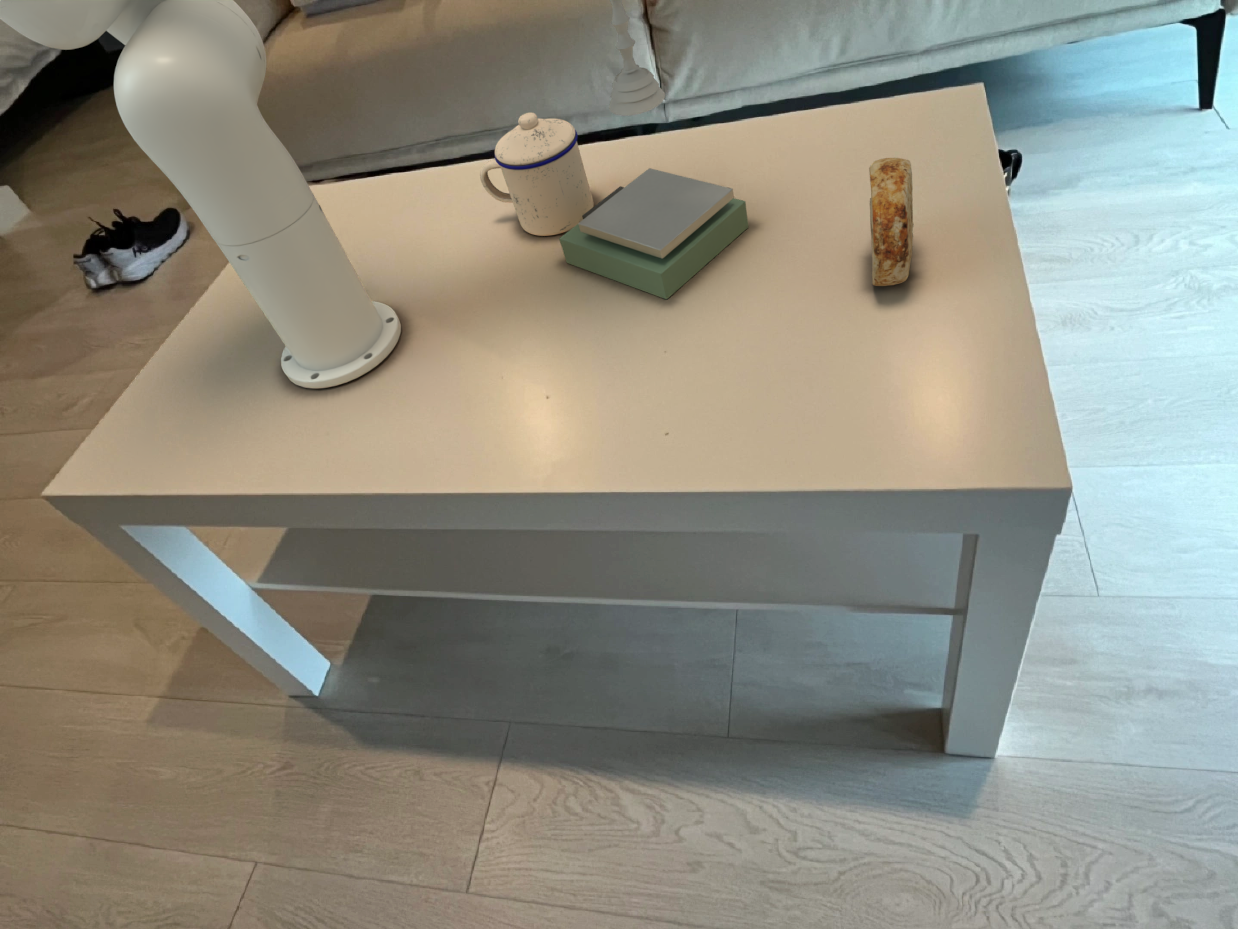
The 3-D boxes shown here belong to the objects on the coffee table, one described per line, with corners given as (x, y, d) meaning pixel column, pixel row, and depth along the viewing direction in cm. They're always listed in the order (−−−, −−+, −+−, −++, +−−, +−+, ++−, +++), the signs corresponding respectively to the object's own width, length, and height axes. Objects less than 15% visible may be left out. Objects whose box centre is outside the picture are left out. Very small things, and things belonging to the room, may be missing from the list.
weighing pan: (580, 231, 82) (577, 223, 81) (651, 176, 86) (649, 167, 85) (662, 259, 75) (660, 250, 75) (734, 197, 80) (733, 188, 79)
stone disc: (912, 306, 69) (917, 201, 62) (866, 307, 70) (866, 205, 63) (911, 235, 76) (916, 133, 69) (869, 237, 77) (870, 137, 70)
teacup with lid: (603, 189, 94) (577, 89, 86) (587, 234, 88) (558, 132, 80) (507, 199, 97) (474, 104, 89) (486, 244, 92) (447, 146, 83)
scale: (566, 262, 86) (557, 233, 83) (646, 198, 91) (640, 168, 88) (666, 299, 78) (659, 268, 75) (748, 227, 83) (745, 195, 80)
